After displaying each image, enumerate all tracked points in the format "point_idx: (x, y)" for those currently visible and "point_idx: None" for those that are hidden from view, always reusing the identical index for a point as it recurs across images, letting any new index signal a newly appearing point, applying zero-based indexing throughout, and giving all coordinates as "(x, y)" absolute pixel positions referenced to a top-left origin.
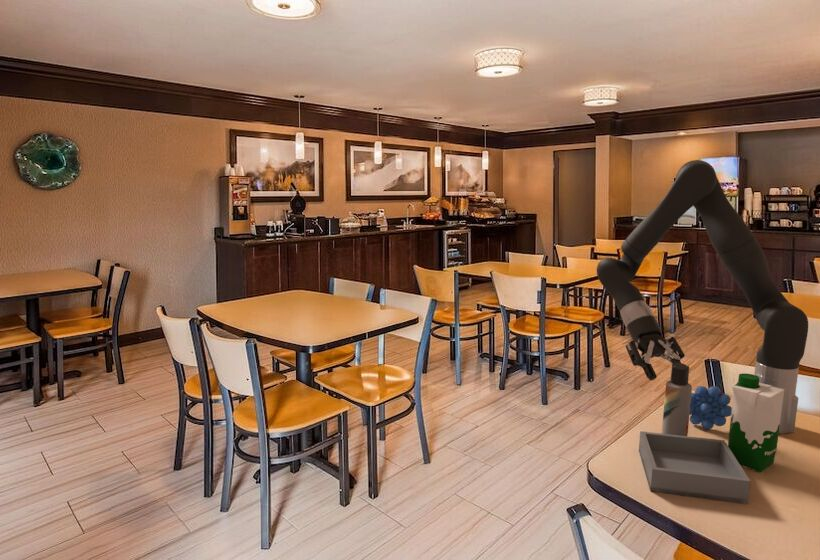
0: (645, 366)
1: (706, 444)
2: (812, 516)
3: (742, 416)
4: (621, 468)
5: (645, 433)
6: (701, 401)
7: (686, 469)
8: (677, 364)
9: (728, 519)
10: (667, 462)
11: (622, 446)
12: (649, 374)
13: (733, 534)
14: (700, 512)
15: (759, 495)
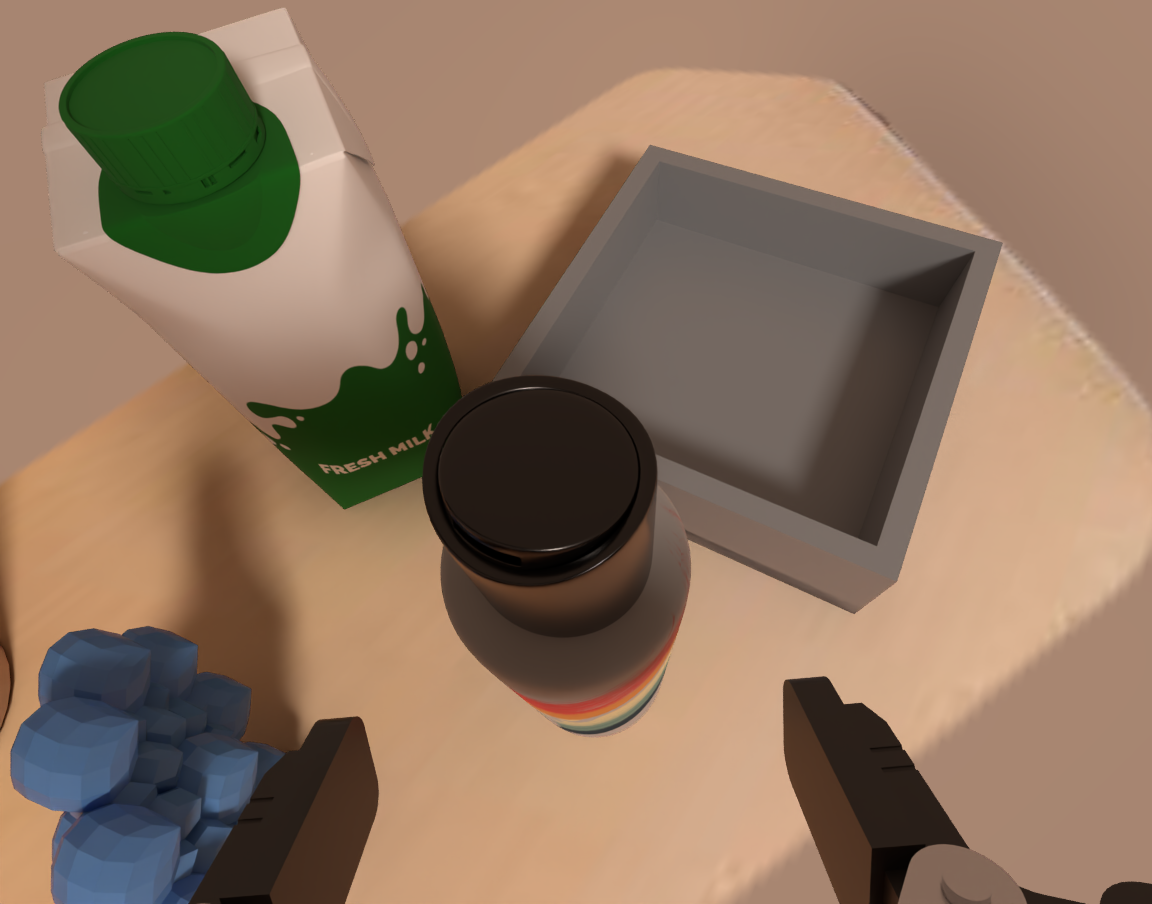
0: (962, 841)
1: None
2: (507, 158)
3: (404, 239)
4: (1019, 474)
5: (874, 548)
6: (198, 816)
7: (738, 379)
8: (547, 510)
9: (765, 171)
10: (791, 440)
11: (929, 683)
12: (886, 726)
13: (797, 126)
14: None
15: (567, 247)
